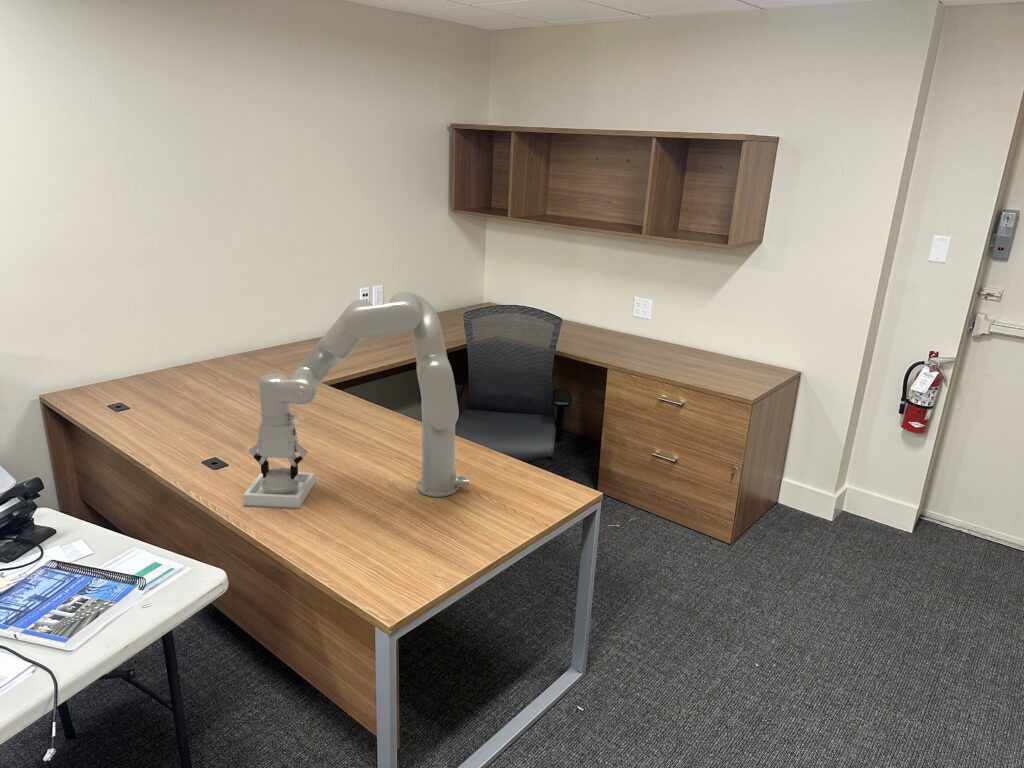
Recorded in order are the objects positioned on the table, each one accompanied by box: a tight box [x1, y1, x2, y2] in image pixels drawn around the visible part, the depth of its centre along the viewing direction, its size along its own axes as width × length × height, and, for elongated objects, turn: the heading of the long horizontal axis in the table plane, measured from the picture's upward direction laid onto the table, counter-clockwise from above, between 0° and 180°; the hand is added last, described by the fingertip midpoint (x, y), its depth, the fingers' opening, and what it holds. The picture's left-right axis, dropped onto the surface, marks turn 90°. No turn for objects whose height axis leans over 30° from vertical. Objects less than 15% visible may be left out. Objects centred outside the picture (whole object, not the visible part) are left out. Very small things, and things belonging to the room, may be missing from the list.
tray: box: [242, 471, 316, 509], centre depth 204 cm, size 15×15×3 cm
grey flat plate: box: [242, 481, 317, 510], centre depth 205 cm, size 16×17×1 cm
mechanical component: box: [262, 466, 299, 493], centre depth 203 cm, size 10×4×10 cm
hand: (280, 476), depth 203 cm, fingers closed on mechanical component, 7 cm apart
